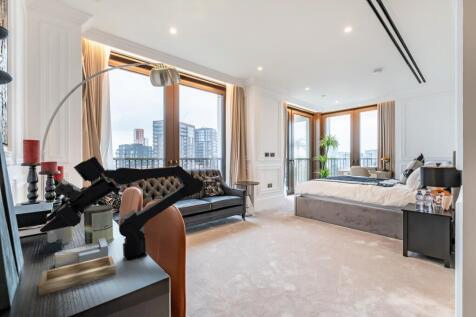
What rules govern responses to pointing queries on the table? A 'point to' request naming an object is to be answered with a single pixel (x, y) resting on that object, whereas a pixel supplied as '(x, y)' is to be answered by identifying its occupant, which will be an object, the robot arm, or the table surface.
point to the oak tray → (76, 274)
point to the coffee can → (98, 224)
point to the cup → (64, 234)
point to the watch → (52, 242)
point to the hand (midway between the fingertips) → (43, 225)
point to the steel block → (72, 255)
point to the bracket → (95, 251)
